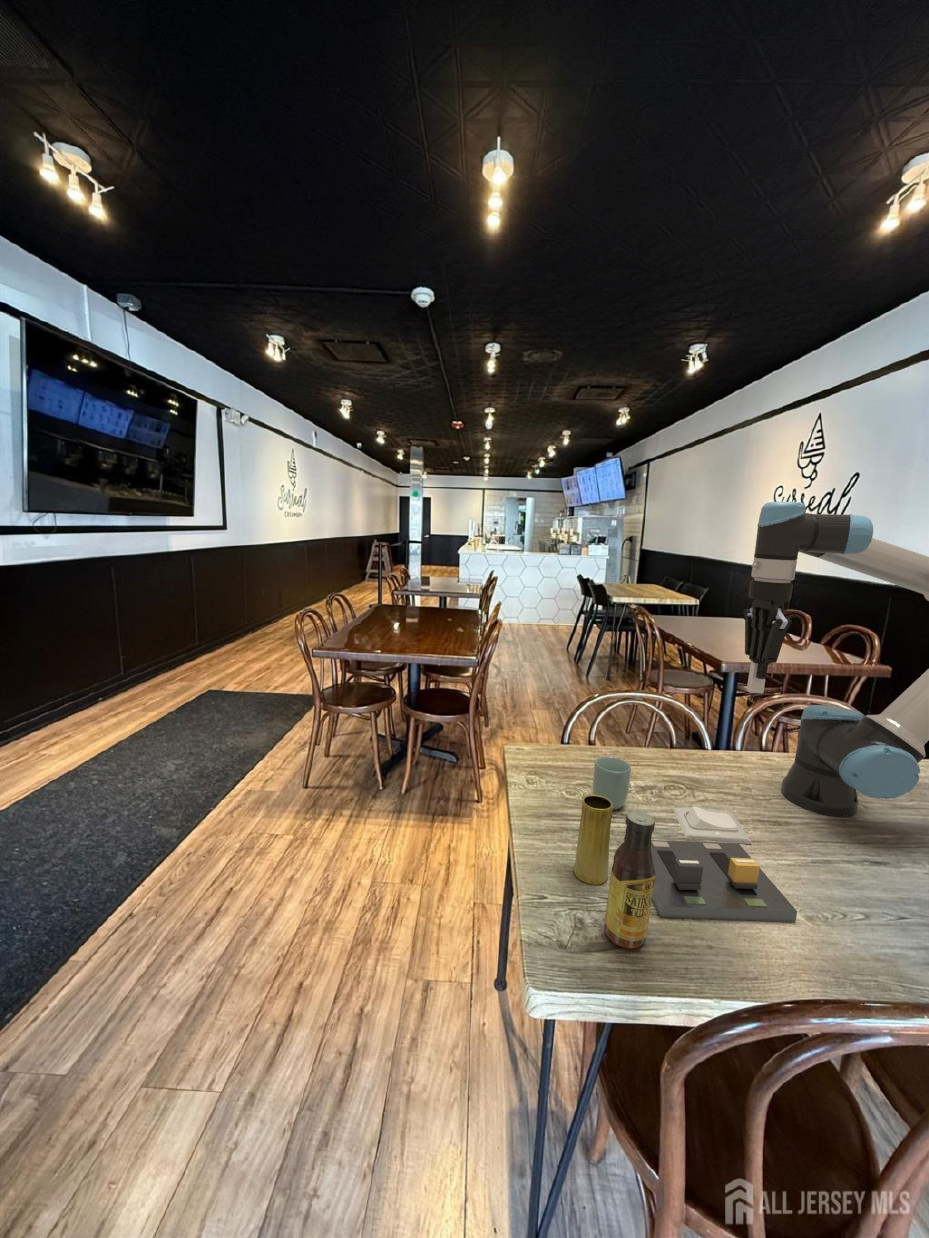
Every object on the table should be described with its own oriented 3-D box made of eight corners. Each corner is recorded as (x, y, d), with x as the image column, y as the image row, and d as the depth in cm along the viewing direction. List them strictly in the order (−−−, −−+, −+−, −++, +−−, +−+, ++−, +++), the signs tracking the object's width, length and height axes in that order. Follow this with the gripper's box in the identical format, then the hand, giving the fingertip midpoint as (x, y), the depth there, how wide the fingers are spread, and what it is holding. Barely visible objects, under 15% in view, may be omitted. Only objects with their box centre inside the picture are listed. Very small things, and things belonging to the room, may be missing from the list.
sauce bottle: (622, 957, 75) (636, 834, 71) (595, 926, 80) (606, 811, 77) (656, 944, 77) (671, 825, 74) (628, 915, 83) (640, 803, 79)
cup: (614, 818, 111) (618, 775, 109) (584, 803, 116) (588, 762, 115) (633, 806, 116) (637, 765, 114) (603, 792, 122) (607, 753, 120)
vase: (614, 883, 90) (621, 809, 88) (582, 887, 89) (589, 812, 86) (598, 861, 96) (605, 791, 93) (568, 864, 95) (574, 794, 92)
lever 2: (748, 877, 89) (751, 855, 89) (758, 889, 87) (761, 867, 86) (725, 876, 89) (729, 854, 89) (734, 888, 86) (738, 866, 86)
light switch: (673, 797, 115) (733, 800, 113) (672, 814, 116) (732, 818, 114) (685, 824, 105) (752, 828, 103) (684, 842, 105) (751, 847, 103)
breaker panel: (737, 852, 100) (738, 842, 100) (795, 922, 83) (797, 910, 82) (626, 848, 100) (627, 838, 100) (660, 917, 83) (662, 905, 82)
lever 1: (693, 878, 89) (696, 856, 88) (701, 890, 86) (704, 867, 85) (671, 877, 89) (673, 855, 88) (678, 889, 86) (681, 867, 85)
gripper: (736, 576, 109) (721, 681, 113) (772, 583, 96) (754, 701, 101) (771, 577, 109) (755, 683, 113) (811, 584, 96) (792, 703, 101)
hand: (754, 691), depth 107 cm, fingers closed
